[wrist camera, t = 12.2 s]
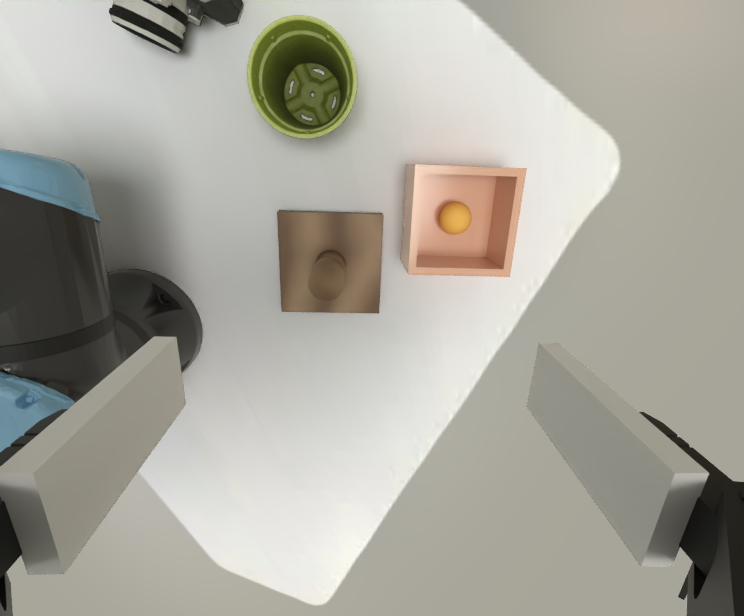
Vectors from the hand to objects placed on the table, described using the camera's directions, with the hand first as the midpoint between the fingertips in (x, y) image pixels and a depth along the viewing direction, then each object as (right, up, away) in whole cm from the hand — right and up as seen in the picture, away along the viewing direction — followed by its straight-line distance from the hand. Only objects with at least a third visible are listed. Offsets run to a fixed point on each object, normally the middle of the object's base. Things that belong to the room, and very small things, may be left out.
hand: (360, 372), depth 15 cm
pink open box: (+10, +13, +33) cm, 36 cm away
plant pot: (-6, +25, +28) cm, 38 cm away
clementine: (+10, +13, +32) cm, 36 cm away
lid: (-5, +8, +33) cm, 35 cm away
